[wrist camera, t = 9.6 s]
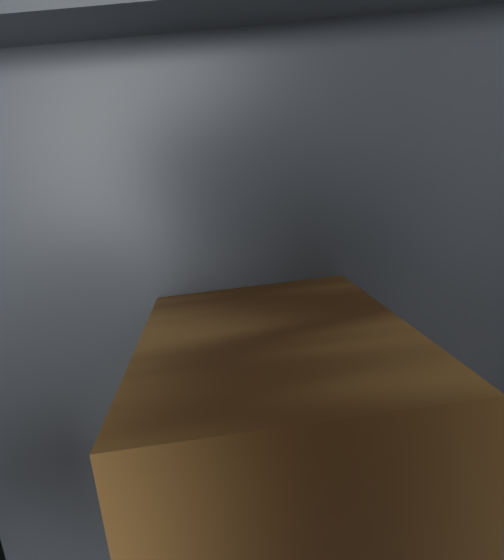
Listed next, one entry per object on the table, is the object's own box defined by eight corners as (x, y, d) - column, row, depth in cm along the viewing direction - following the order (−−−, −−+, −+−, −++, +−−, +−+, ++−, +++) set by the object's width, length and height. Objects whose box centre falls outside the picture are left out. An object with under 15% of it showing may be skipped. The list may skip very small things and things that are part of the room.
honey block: (341, 275, 11) (506, 395, 5) (352, 439, 12) (499, 709, 6) (157, 297, 11) (89, 455, 5) (183, 463, 12) (154, 775, 6)
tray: (595, -46, 11) (706, -110, 9) (564, 587, 15) (634, 667, 13) (-214, 24, 10) (-353, -26, 7) (-13, 688, 14) (-60, 797, 11)
